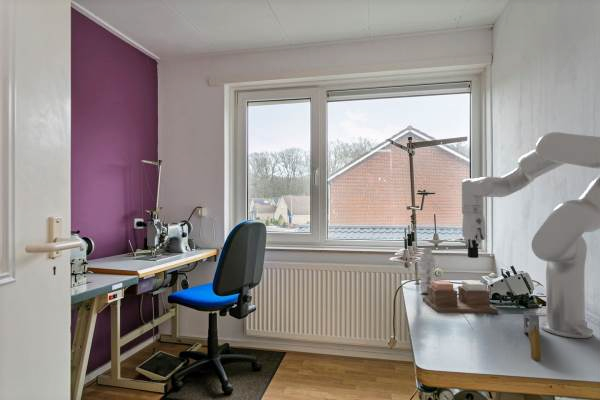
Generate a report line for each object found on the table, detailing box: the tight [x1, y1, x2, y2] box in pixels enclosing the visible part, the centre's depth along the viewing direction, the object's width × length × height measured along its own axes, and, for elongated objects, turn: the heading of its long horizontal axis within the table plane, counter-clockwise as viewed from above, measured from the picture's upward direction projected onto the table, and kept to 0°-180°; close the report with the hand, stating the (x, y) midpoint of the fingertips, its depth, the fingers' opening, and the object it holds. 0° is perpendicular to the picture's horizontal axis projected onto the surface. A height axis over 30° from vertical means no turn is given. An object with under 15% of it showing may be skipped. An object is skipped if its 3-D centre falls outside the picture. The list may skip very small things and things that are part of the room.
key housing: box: [422, 285, 499, 314], centre depth 133 cm, size 16×22×7 cm
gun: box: [522, 310, 542, 362], centre depth 97 cm, size 3×25×15 cm, turn 150°
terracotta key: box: [432, 280, 454, 290], centre depth 134 cm, size 6×6×5 cm
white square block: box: [461, 280, 486, 291], centre depth 133 cm, size 6×6×5 cm
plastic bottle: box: [419, 247, 436, 295], centre depth 154 cm, size 6×7×20 cm
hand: (473, 257), depth 133 cm, fingers closed
